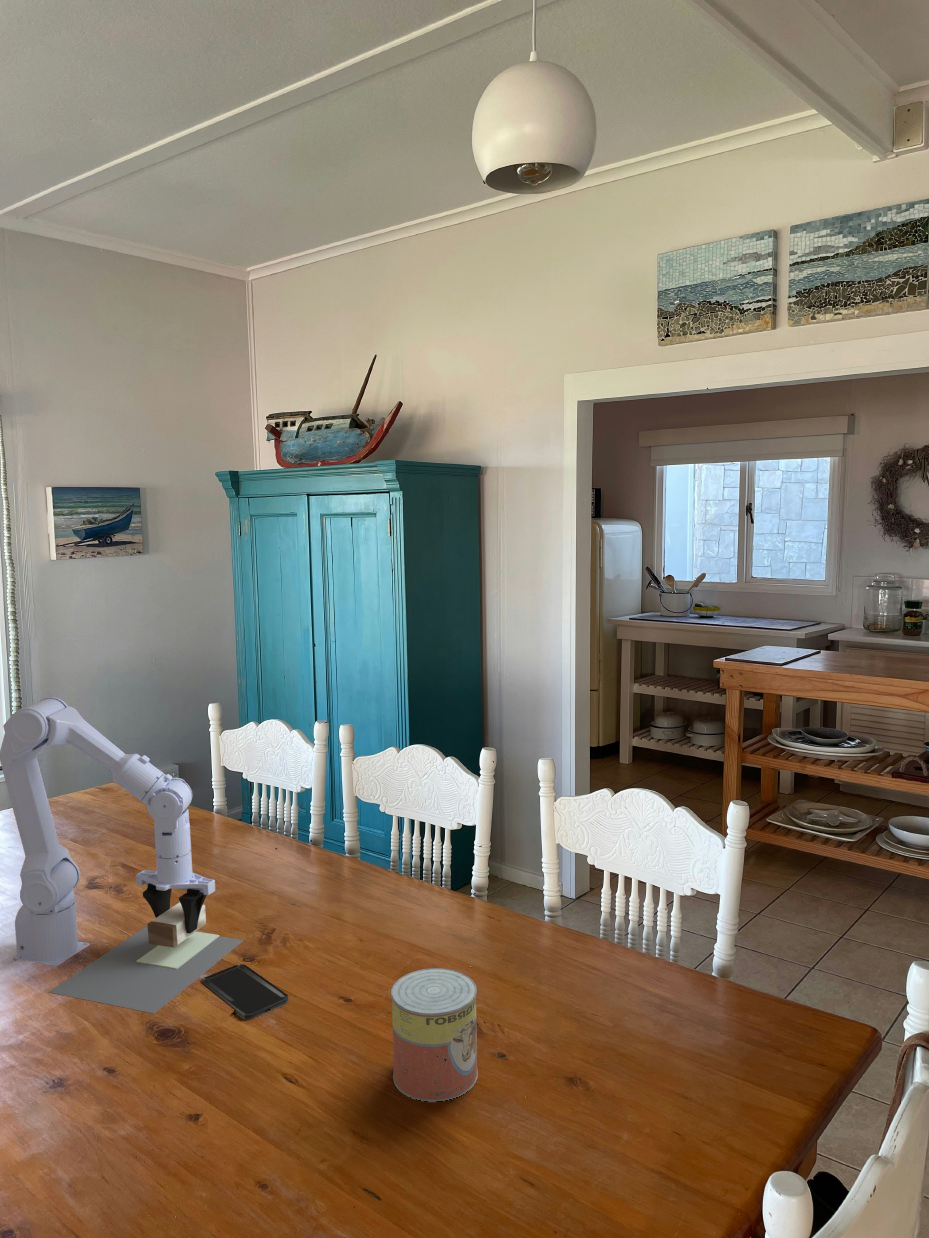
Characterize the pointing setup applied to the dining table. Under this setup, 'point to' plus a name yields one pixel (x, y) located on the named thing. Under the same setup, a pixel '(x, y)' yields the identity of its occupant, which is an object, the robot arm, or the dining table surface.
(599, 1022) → the dining table surface
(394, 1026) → the canned food
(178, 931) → the card box
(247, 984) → the phone
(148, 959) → the pad
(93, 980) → the mat
